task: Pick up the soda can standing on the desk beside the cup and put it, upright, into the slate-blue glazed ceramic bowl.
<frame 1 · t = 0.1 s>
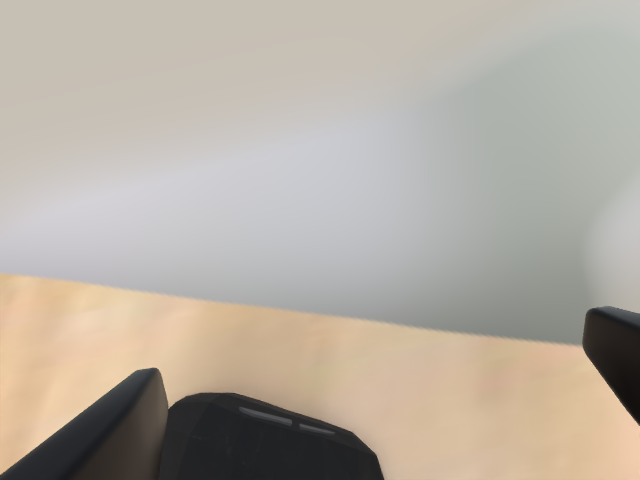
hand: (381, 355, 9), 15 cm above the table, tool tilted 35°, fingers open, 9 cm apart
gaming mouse: (295, 475, 22), on the table
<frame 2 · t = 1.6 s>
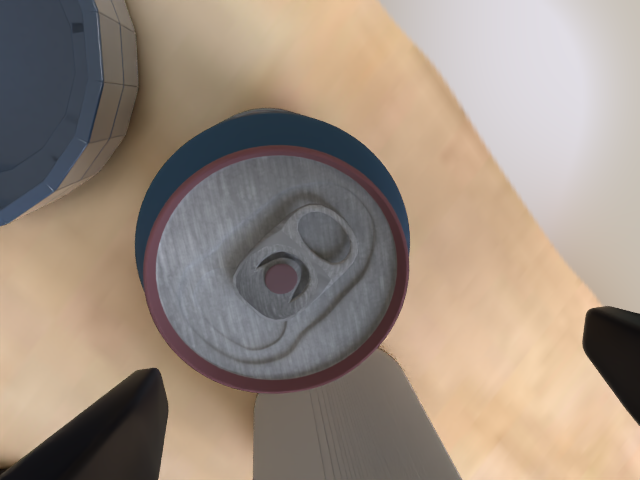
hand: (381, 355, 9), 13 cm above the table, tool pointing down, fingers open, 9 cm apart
cup: (333, 407, 25), on the table
soda can: (269, 183, 21), on the table
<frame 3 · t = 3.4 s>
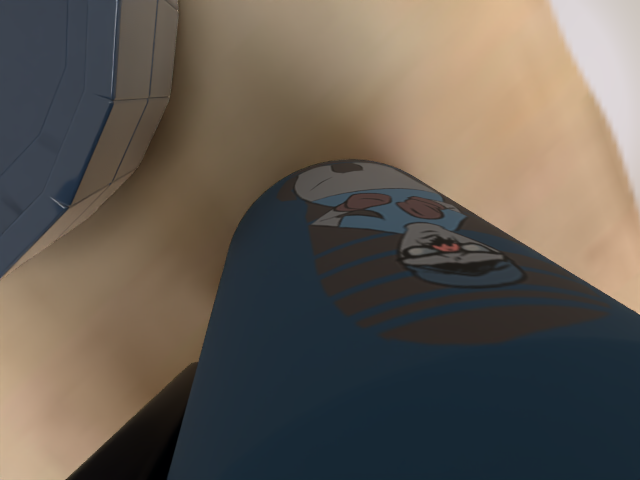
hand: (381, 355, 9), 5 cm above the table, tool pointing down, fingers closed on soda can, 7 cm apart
soda can: (338, 259, 14), on the table, touching gripper
when the fingers open (6 cm above the table, at t = 8.8 s): soda can stays where it is, resting on bowl.
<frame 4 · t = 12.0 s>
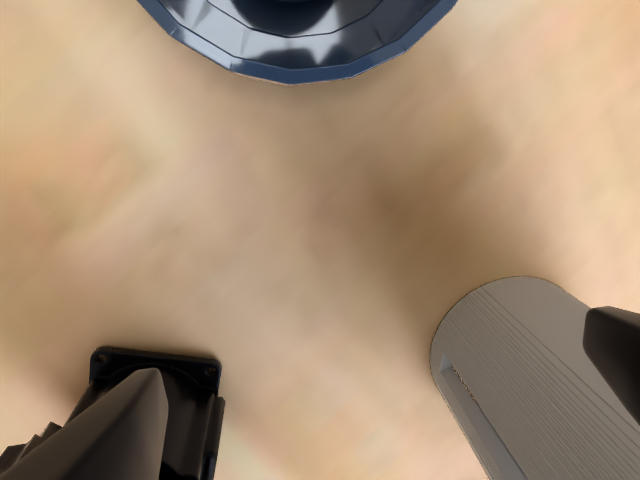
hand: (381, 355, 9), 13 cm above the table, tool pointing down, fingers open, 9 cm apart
cup: (504, 346, 25), on the table
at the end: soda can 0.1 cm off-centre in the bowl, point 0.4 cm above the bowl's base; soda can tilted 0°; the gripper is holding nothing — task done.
